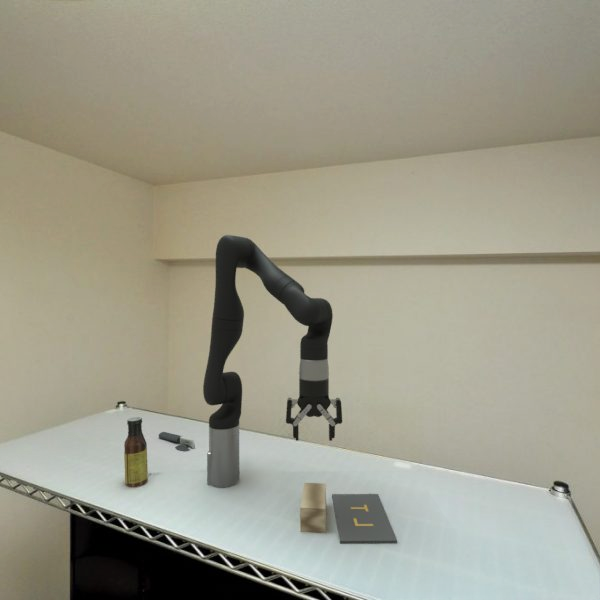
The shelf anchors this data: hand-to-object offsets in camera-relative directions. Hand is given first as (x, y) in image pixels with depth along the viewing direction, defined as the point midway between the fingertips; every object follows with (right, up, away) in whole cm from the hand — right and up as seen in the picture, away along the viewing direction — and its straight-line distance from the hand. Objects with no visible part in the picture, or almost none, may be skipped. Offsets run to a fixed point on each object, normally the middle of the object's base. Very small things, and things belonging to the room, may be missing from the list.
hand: (313, 439), depth 92 cm
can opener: (-50, -21, +44) cm, 70 cm away
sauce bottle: (-53, -20, +17) cm, 59 cm away
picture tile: (+12, -20, 0) cm, 23 cm away
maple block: (0, -20, 0) cm, 20 cm away
